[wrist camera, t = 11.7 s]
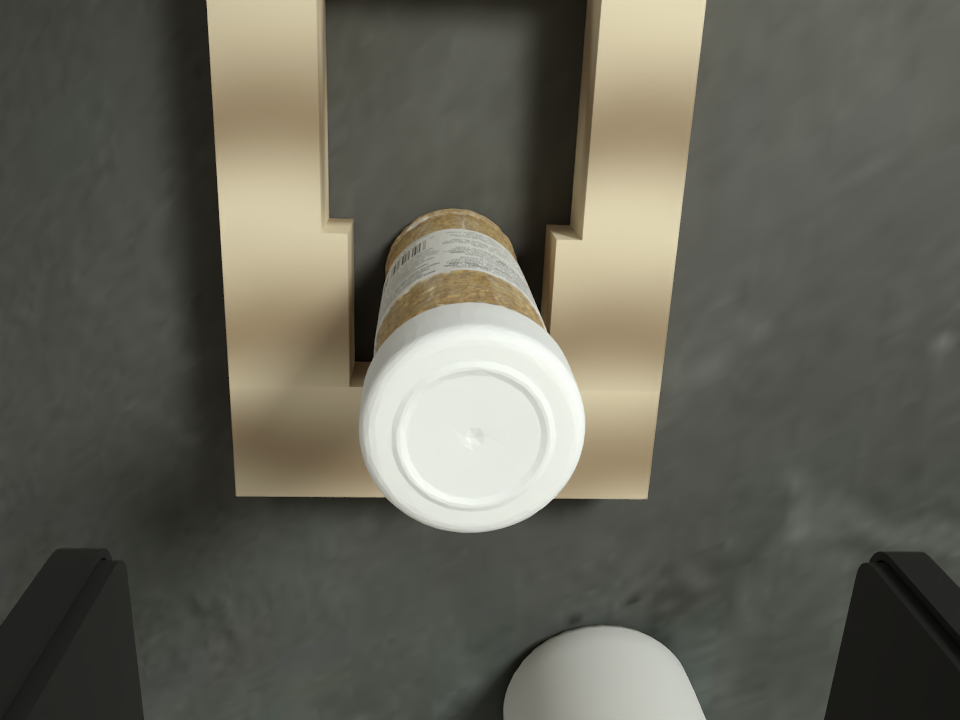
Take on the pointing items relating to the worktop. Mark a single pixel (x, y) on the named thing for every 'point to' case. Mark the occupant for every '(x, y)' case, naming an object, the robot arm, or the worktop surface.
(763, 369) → the worktop surface
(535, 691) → the milk bottle
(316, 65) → the keyhole board
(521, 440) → the spice jar
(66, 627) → the robot arm
